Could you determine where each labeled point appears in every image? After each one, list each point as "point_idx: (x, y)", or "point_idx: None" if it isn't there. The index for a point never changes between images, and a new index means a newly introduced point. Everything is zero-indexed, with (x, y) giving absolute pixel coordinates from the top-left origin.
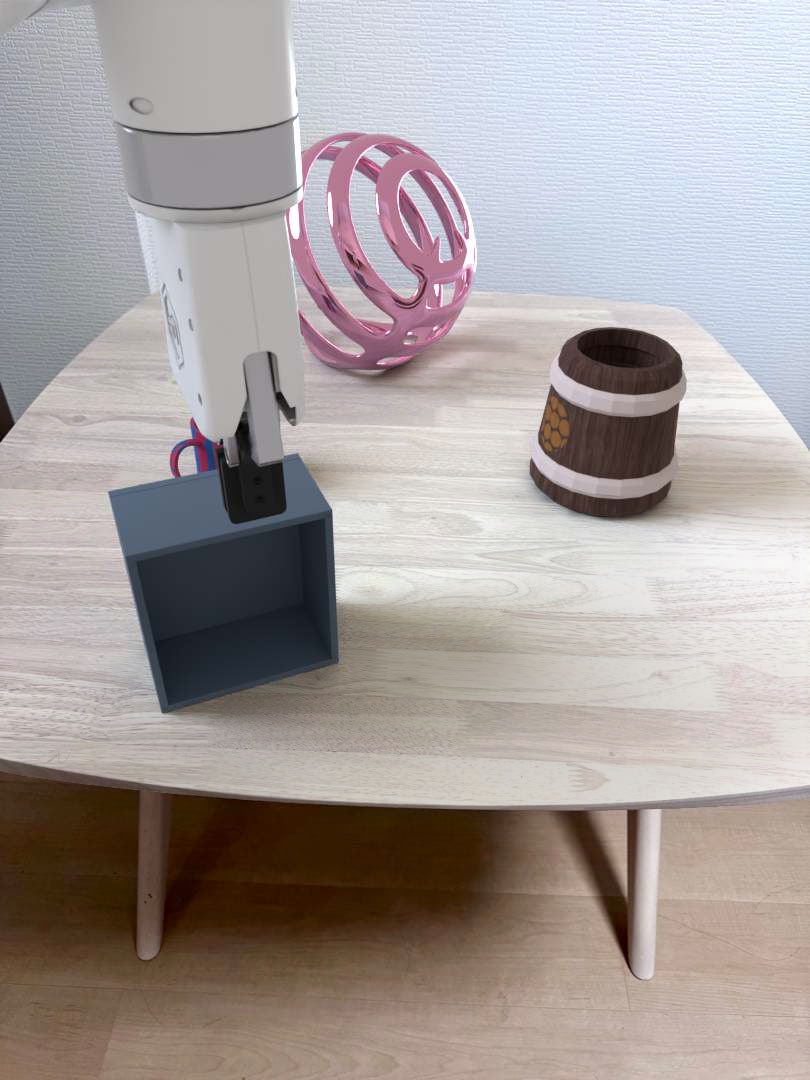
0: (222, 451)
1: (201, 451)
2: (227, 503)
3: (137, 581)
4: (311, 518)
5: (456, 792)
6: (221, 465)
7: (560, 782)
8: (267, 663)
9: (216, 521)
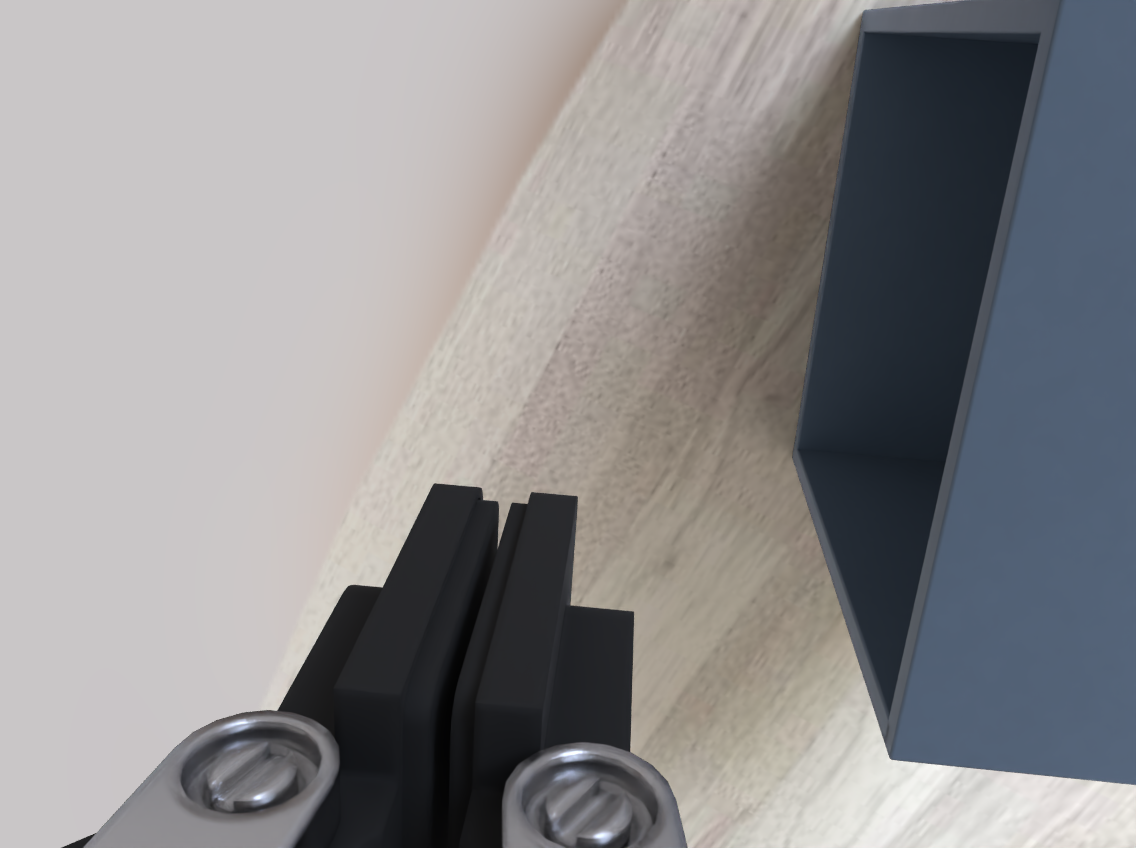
0: (492, 738)
1: None
2: (414, 531)
3: (1008, 21)
4: (900, 685)
5: (366, 507)
6: (367, 673)
7: None
8: (867, 310)
9: (1066, 402)
